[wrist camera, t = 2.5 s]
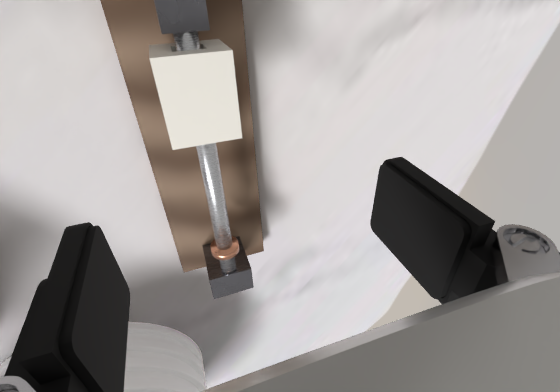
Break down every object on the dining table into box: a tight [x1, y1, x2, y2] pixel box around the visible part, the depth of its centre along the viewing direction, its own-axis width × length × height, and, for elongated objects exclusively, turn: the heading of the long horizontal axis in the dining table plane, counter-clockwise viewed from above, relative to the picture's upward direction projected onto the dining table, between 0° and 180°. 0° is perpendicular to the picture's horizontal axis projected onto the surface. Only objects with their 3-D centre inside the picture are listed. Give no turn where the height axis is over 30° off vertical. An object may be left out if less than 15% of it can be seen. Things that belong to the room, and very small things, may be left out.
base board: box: [101, 0, 264, 272], centre depth 31 cm, size 30×10×2 cm, turn 2°
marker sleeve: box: [149, 39, 242, 150], centre depth 23 cm, size 6×5×5 cm
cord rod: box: [154, 0, 253, 299], centre depth 28 cm, size 28×4×6 cm, turn 2°
